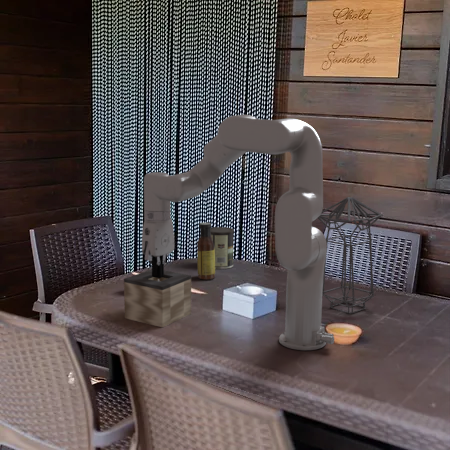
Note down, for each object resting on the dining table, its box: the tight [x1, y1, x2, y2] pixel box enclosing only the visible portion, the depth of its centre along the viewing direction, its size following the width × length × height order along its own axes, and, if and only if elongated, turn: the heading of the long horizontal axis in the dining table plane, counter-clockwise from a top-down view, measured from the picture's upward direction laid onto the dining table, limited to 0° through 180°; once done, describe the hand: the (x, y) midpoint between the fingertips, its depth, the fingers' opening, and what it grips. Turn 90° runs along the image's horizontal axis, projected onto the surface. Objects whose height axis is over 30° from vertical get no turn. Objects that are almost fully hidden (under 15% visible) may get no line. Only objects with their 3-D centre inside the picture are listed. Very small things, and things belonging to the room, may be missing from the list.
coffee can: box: [210, 226, 235, 270], centre depth 260 cm, size 10×10×14 cm
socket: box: [123, 268, 192, 328], centre depth 203 cm, size 14×14×12 cm
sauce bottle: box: [196, 221, 216, 281], centre depth 243 cm, size 7×6×20 cm
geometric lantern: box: [317, 196, 384, 315], centre depth 211 cm, size 16×16×35 cm
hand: (157, 276), depth 202 cm, fingers closed
